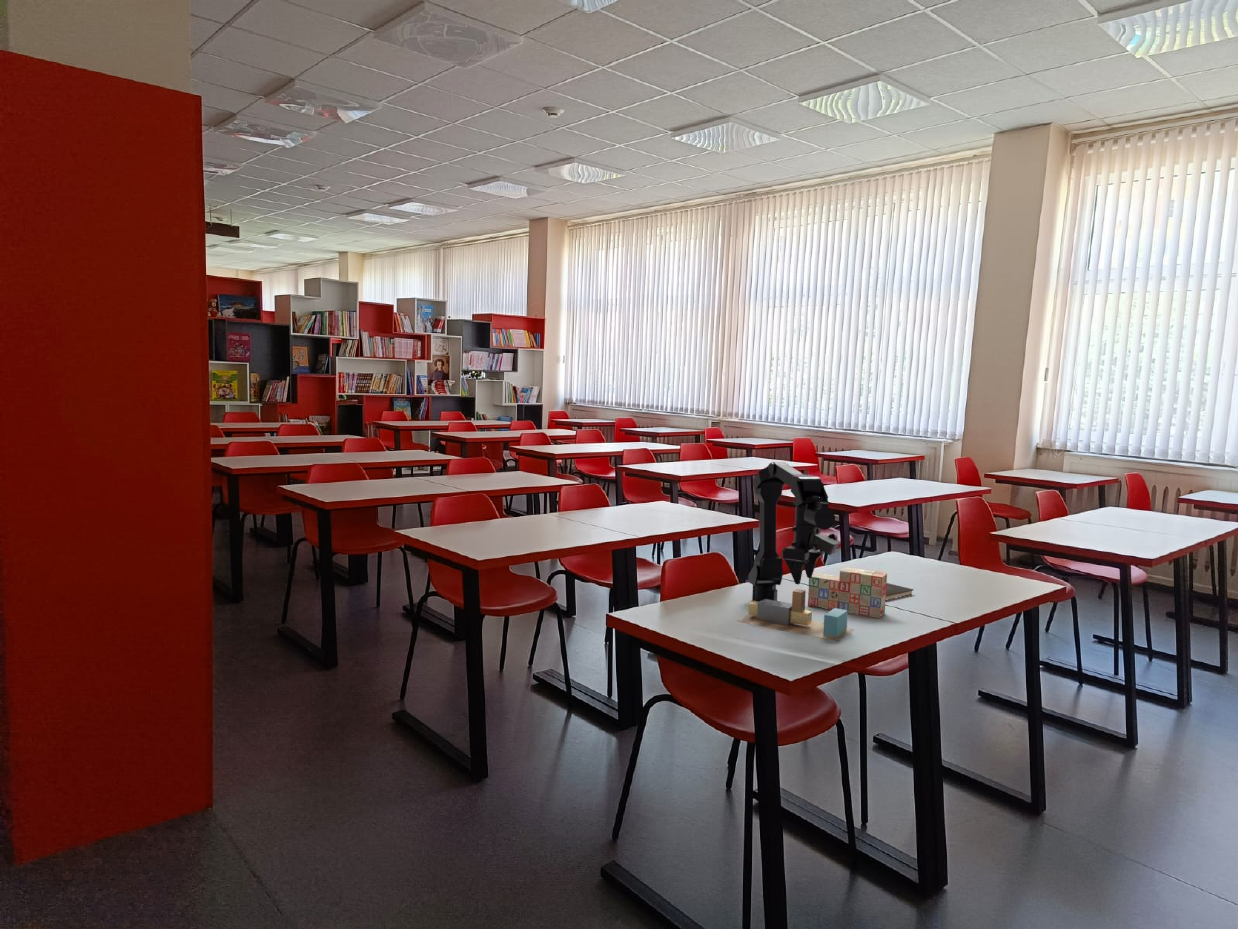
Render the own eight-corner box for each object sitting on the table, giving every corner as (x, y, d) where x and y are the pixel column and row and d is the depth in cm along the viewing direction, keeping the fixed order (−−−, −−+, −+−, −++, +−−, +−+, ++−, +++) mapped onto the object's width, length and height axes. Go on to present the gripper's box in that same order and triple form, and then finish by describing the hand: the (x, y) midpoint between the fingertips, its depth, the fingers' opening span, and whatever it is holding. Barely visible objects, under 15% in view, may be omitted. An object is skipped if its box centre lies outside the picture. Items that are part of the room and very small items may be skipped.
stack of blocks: (807, 606, 227) (808, 566, 226) (813, 602, 232) (815, 562, 231) (880, 618, 216) (882, 576, 215) (885, 613, 221) (887, 572, 220)
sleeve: (757, 620, 207) (757, 602, 207) (764, 616, 211) (765, 598, 211) (788, 626, 202) (788, 608, 202) (795, 622, 206) (795, 604, 206)
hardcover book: (853, 581, 262) (853, 575, 262) (913, 596, 244) (913, 589, 243) (823, 587, 253) (823, 580, 253) (883, 603, 234) (883, 596, 234)
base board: (737, 624, 206) (737, 621, 206) (757, 614, 217) (757, 610, 217) (838, 645, 191) (838, 641, 190) (854, 632, 201) (854, 629, 201)
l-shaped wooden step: (748, 614, 210) (749, 584, 209) (753, 612, 212) (754, 581, 212) (807, 625, 200) (808, 594, 199) (811, 623, 203) (812, 591, 202)
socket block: (823, 635, 195) (824, 614, 195) (833, 628, 202) (834, 608, 201) (836, 637, 193) (837, 617, 193) (846, 630, 200) (847, 610, 199)
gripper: (824, 531, 189) (821, 592, 191) (846, 522, 205) (843, 579, 206) (782, 526, 195) (779, 586, 197) (806, 518, 211) (804, 573, 212)
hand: (803, 581), depth 203 cm, fingers open, 9 cm apart
